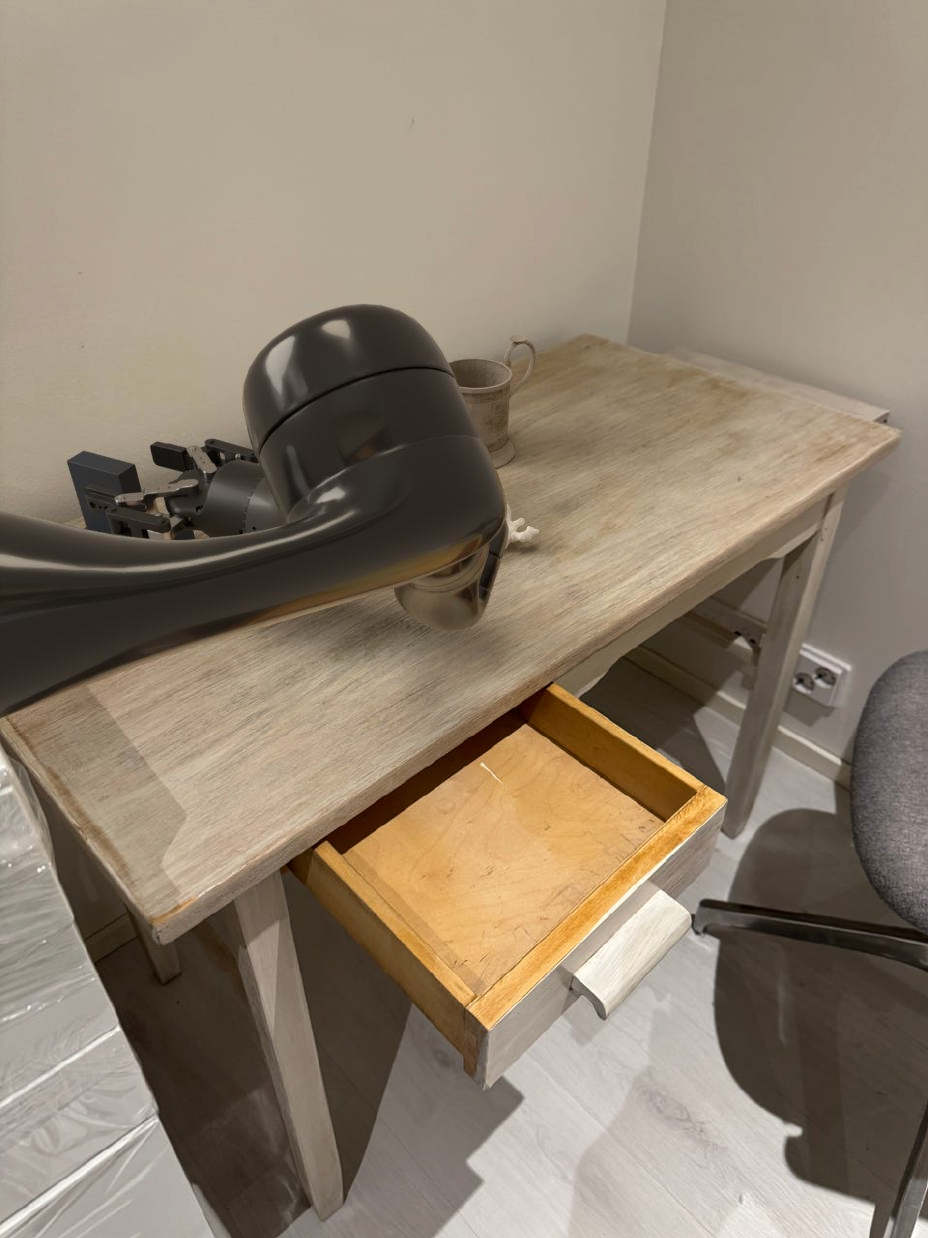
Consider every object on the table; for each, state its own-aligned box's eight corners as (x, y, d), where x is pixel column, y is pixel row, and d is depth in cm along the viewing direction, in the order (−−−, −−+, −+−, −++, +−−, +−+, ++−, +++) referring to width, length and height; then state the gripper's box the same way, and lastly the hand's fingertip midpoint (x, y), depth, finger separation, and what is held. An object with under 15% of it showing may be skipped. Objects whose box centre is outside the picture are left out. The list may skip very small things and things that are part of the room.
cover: (126, 598, 82) (97, 499, 75) (54, 575, 85) (21, 477, 78) (195, 542, 89) (175, 447, 83) (128, 522, 92) (103, 429, 85)
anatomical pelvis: (545, 519, 87) (485, 531, 84) (539, 555, 89) (481, 568, 87) (504, 481, 92) (447, 491, 89) (499, 516, 95) (443, 527, 92)
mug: (469, 480, 100) (470, 378, 92) (414, 448, 106) (411, 350, 98) (559, 441, 107) (567, 344, 100) (503, 413, 113) (507, 319, 106)
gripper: (316, 437, 77) (165, 402, 82) (216, 518, 67) (51, 472, 72) (323, 511, 82) (180, 474, 87) (231, 597, 72) (75, 548, 77)
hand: (122, 473), depth 80 cm, fingers open, 8 cm apart
